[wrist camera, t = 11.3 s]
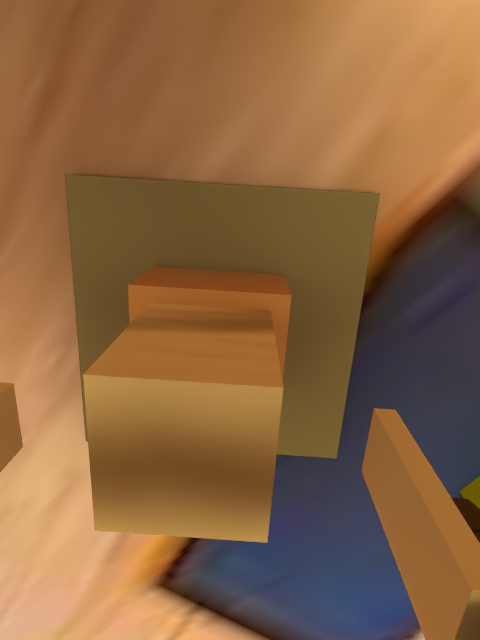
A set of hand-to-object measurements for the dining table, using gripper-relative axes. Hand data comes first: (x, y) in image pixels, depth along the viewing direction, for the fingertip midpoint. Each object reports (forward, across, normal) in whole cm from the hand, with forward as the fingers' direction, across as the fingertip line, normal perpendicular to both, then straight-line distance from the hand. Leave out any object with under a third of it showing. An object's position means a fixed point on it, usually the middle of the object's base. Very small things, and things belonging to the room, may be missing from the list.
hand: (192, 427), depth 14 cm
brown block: (+6, 0, 0) cm, 6 cm away
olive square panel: (+12, 0, 0) cm, 12 cm away
